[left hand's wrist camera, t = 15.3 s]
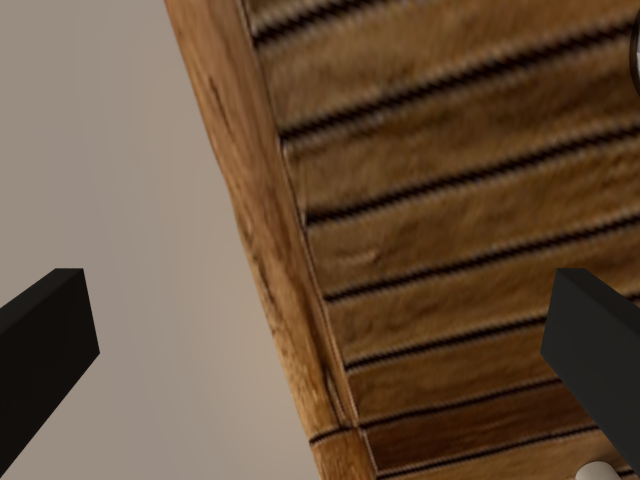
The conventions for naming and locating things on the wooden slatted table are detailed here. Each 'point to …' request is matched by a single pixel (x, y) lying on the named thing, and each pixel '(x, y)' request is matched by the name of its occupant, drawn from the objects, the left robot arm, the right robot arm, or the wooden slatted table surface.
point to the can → (597, 472)
